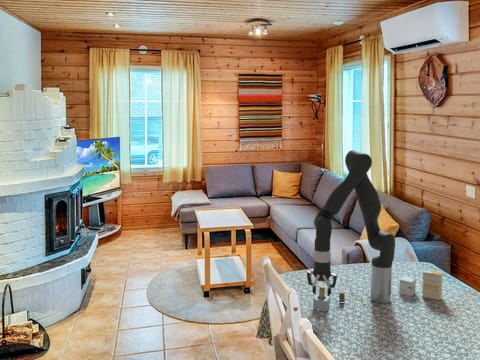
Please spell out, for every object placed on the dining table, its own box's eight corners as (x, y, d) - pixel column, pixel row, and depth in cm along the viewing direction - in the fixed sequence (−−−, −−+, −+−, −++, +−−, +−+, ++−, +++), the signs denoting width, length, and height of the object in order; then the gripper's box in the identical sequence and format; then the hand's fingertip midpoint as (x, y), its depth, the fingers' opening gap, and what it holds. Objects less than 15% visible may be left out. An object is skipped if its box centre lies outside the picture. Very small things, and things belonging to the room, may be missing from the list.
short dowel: (339, 301, 211) (339, 292, 211) (344, 301, 211) (344, 292, 210) (338, 303, 209) (339, 294, 208) (344, 303, 208) (344, 294, 208)
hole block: (315, 304, 208) (315, 293, 208) (329, 306, 206) (329, 295, 205) (313, 309, 202) (313, 299, 202) (327, 311, 200) (327, 301, 199)
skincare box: (398, 293, 219) (399, 279, 218) (403, 289, 224) (403, 275, 222) (411, 296, 215) (411, 282, 214) (415, 292, 220) (416, 278, 219)
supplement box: (441, 297, 214) (443, 271, 212) (440, 301, 210) (441, 274, 208) (423, 294, 218) (424, 268, 216) (421, 297, 214) (422, 271, 212)
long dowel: (319, 306, 206) (319, 285, 204) (324, 307, 205) (325, 286, 203) (318, 308, 204) (319, 287, 202) (323, 309, 203) (324, 288, 201)
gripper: (339, 258, 202) (338, 293, 204) (308, 255, 207) (307, 289, 209) (337, 263, 195) (336, 300, 197) (304, 260, 200) (304, 295, 202)
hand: (321, 294), depth 203 cm, fingers open, 5 cm apart
